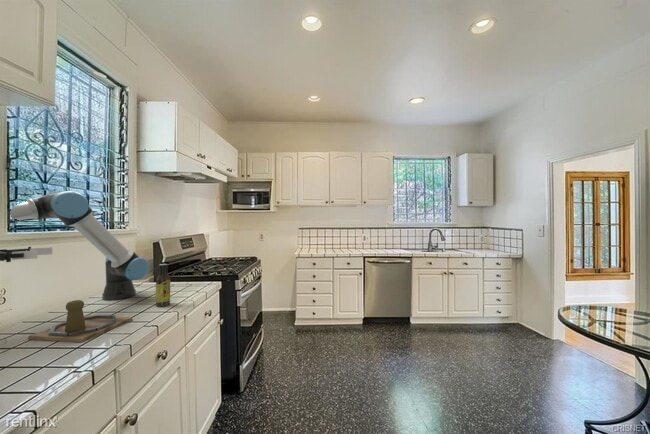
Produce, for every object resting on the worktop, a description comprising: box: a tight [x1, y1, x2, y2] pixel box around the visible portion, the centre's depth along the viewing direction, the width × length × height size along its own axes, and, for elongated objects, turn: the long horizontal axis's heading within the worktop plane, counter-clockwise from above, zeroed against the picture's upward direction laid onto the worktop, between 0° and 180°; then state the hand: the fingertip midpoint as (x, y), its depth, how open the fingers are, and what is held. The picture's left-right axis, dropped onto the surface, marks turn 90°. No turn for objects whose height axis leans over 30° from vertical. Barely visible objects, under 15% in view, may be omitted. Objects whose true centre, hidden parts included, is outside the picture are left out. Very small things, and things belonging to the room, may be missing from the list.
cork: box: [65, 299, 86, 332], centre depth 110 cm, size 6×6×11 cm
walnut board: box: [27, 314, 133, 343], centre depth 114 cm, size 22×22×1 cm
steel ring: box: [49, 314, 116, 336], centre depth 114 cm, size 19×19×1 cm
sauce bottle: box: [155, 263, 171, 307], centre depth 145 cm, size 6×6×20 cm
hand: (45, 252), depth 112 cm, fingers open, 13 cm apart
